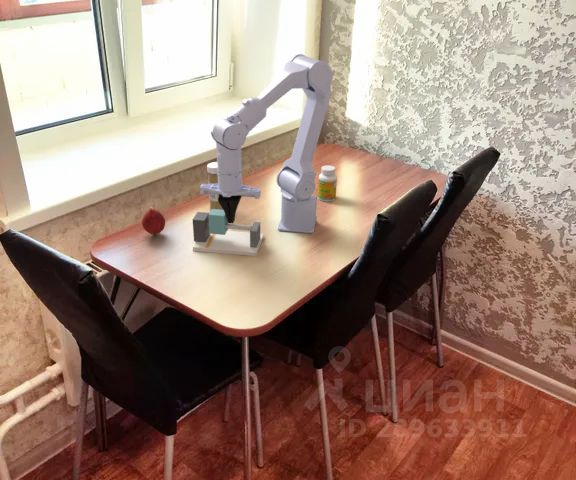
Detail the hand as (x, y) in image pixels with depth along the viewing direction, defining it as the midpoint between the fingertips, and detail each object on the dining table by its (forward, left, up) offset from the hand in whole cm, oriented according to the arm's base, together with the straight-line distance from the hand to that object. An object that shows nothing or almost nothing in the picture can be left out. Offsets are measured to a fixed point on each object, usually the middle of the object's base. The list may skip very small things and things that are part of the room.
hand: (231, 221), depth 143 cm
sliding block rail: (+1, 0, -6) cm, 6 cm away
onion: (+21, -1, -7) cm, 22 cm away
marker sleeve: (+3, 0, -3) cm, 4 cm away
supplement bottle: (-21, -32, -7) cm, 39 cm away
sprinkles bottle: (+9, -19, -7) cm, 22 cm away
